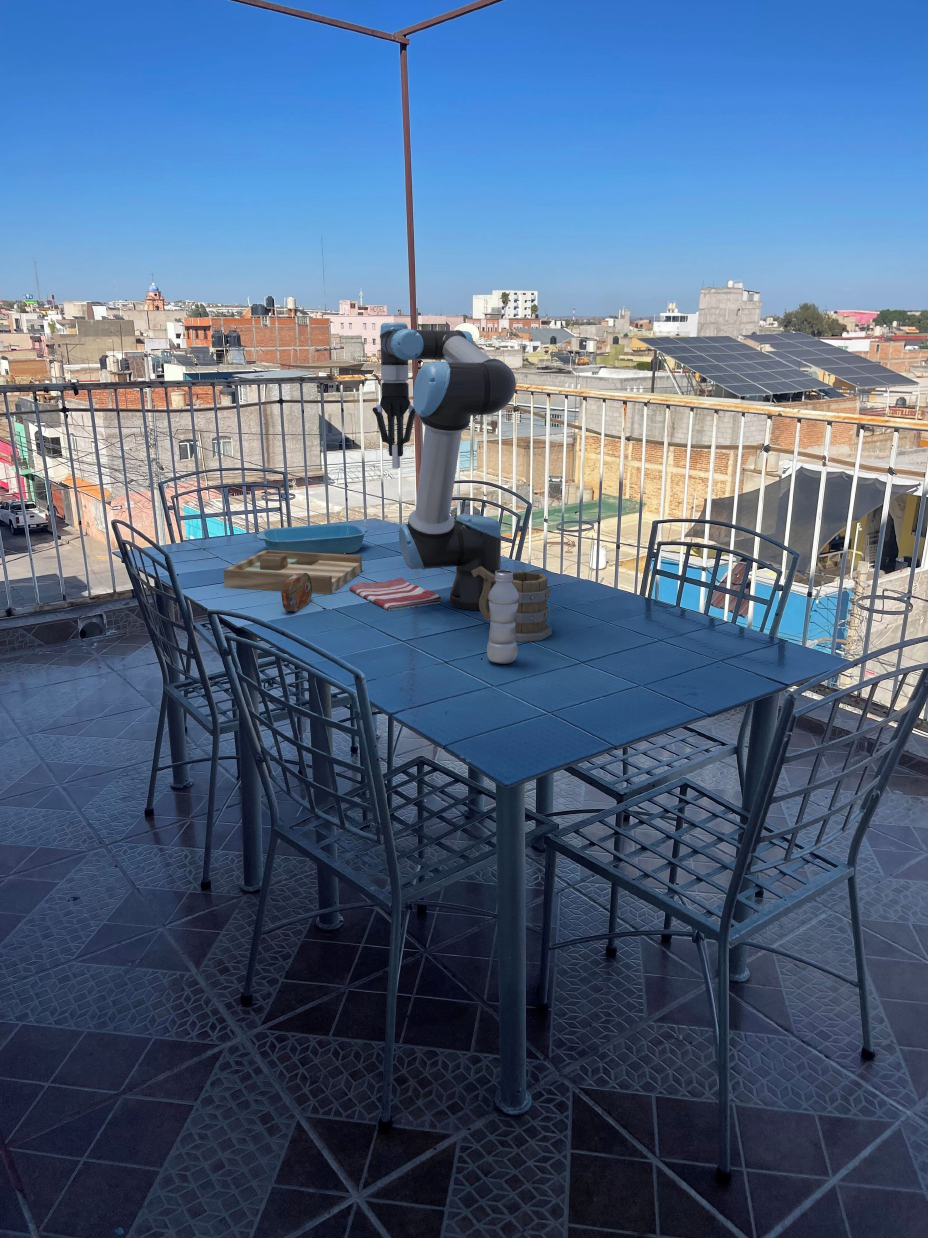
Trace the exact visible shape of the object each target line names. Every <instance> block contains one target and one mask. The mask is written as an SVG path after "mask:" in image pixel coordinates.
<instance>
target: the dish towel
mask: <svg viewBox="0 0 928 1238" xmlns="http://www.w3.org/2000/svg"><path fill="white" fill-rule="evenodd" d="M348 590H349V591H350V592H351V593H354V594H355V595H357V596H358V597H360V598H363V599H364V600H366V601H369V602H370V601H371V603H373V604H374V605H375V606H377V605H378V606H377V607H379V606H380V607H379V608H381V607H382V609H383V608H384V610H387V611H388V612H391V611H390V610H393V611H398V609H399V610H404V609H403V608H406V609H411V608H410V607H412V608H416V607H415V606H418V607H423V606H429V605H435V604H441V600H442V597H441V595H440V594H437V593H436V592H434V591H431V590H429V589H424V588H422V587H420V586H419V585H416V584H411V583H409V582H408V581H406V580H405V578H404V577H398V578H395V579H391V580H386V581H376V582H363V581H362V582H358V583H355V584H352V585H350V586H349V588H348Z"/></svg>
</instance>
